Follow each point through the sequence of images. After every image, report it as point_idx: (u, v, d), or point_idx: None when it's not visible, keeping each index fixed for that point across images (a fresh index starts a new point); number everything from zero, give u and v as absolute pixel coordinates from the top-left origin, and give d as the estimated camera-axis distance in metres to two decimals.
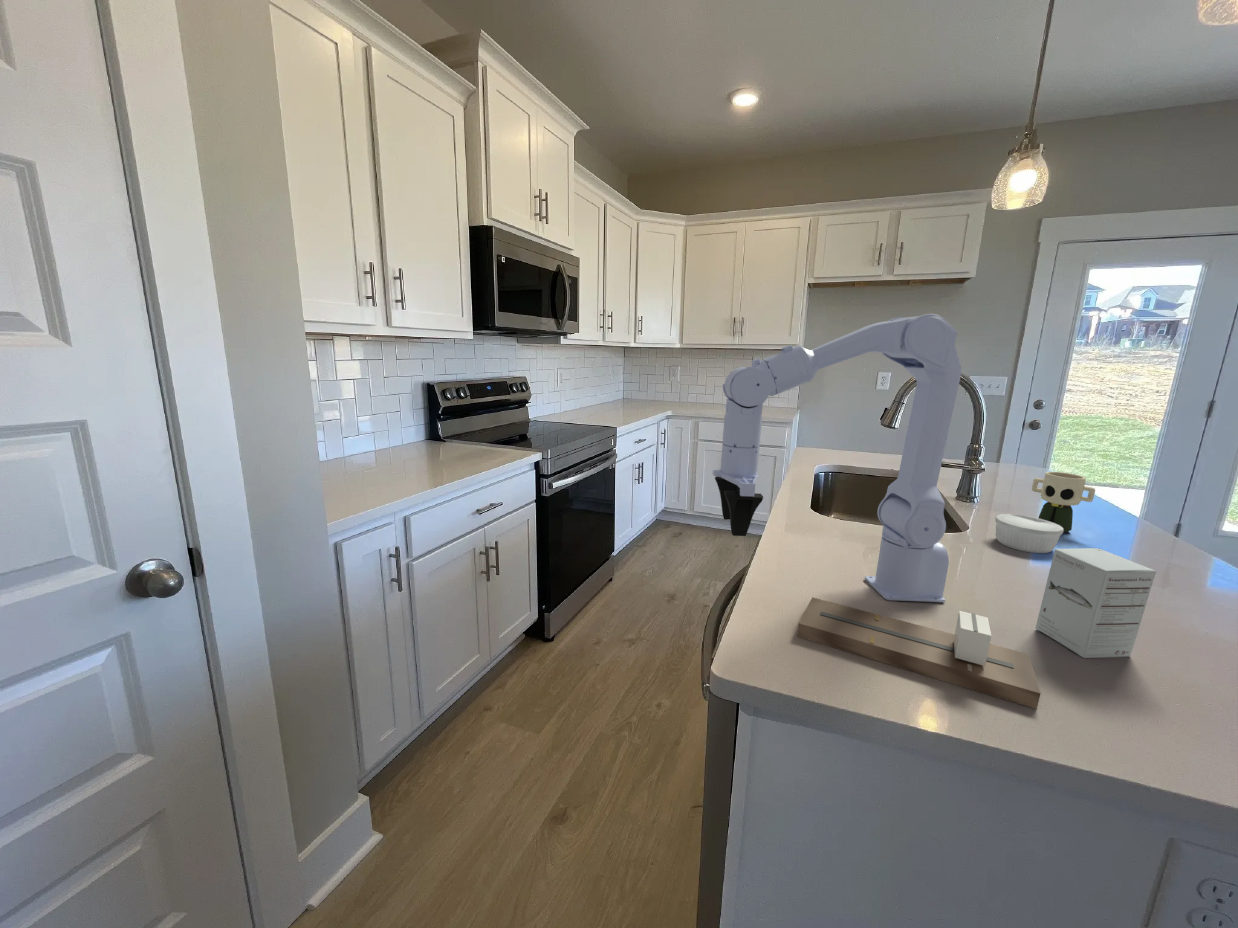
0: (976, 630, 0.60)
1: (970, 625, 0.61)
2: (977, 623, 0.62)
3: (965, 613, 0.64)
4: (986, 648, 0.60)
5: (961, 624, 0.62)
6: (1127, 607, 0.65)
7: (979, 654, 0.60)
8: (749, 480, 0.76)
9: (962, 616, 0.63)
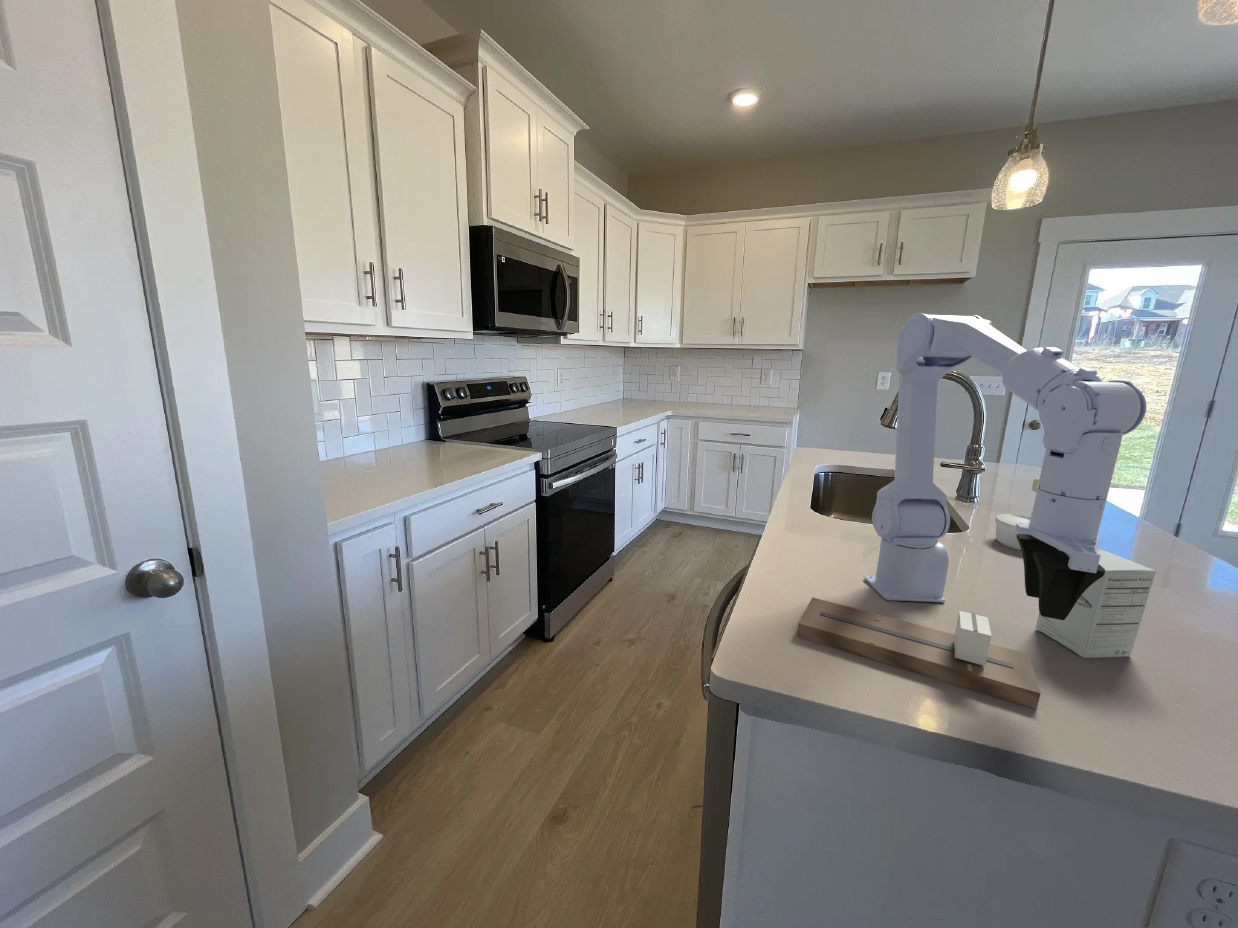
0: (976, 630, 0.60)
1: (970, 625, 0.61)
2: (977, 623, 0.62)
3: (965, 613, 0.64)
4: (986, 648, 0.60)
5: (961, 624, 0.62)
6: (1127, 607, 0.65)
7: (979, 654, 0.60)
8: (1086, 547, 0.52)
9: (962, 616, 0.63)
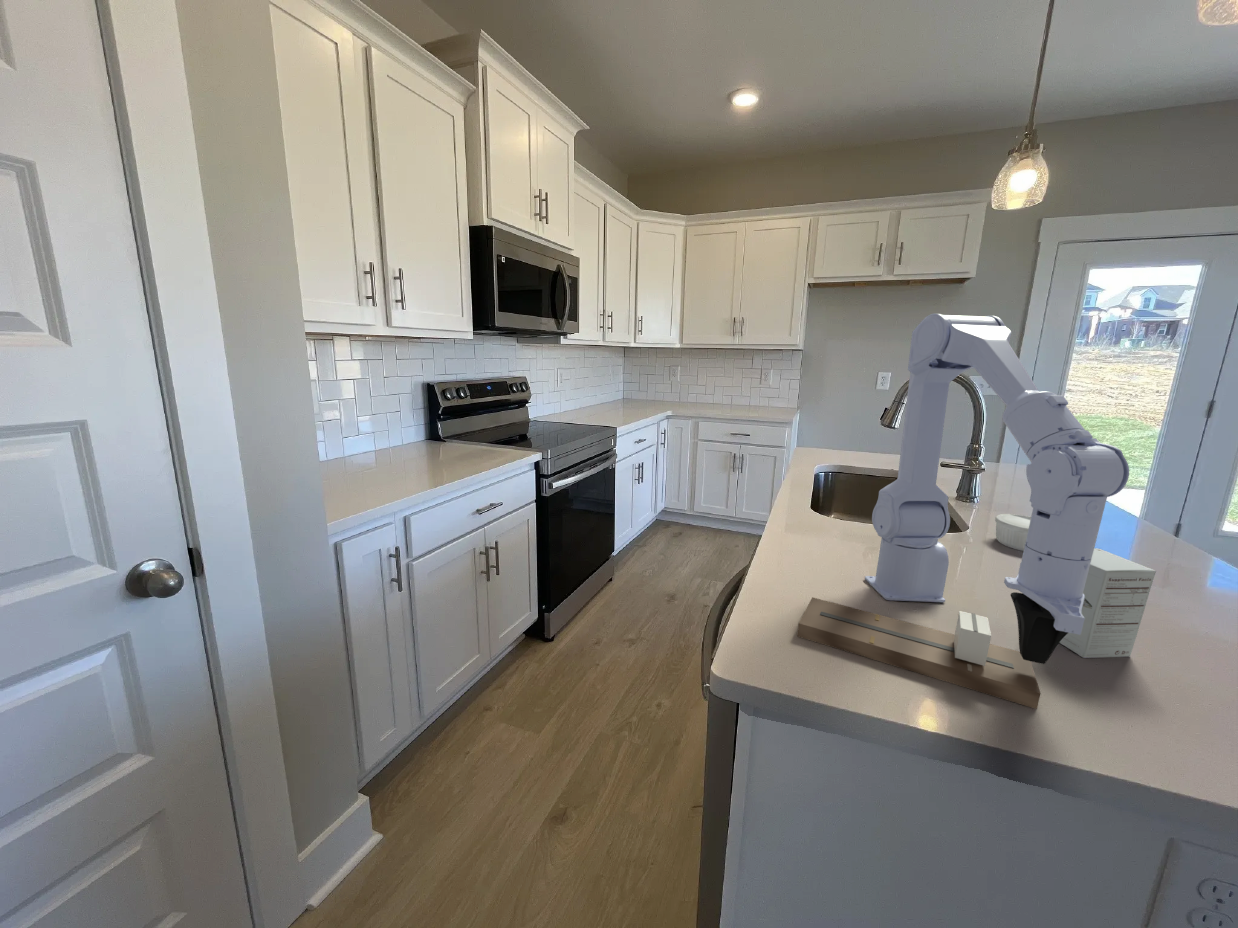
0: (976, 630, 0.60)
1: (970, 625, 0.61)
2: (977, 623, 0.62)
3: (965, 613, 0.64)
4: (986, 648, 0.60)
5: (961, 624, 0.62)
6: (1127, 607, 0.65)
7: (979, 654, 0.60)
8: (1071, 607, 0.53)
9: (962, 616, 0.63)
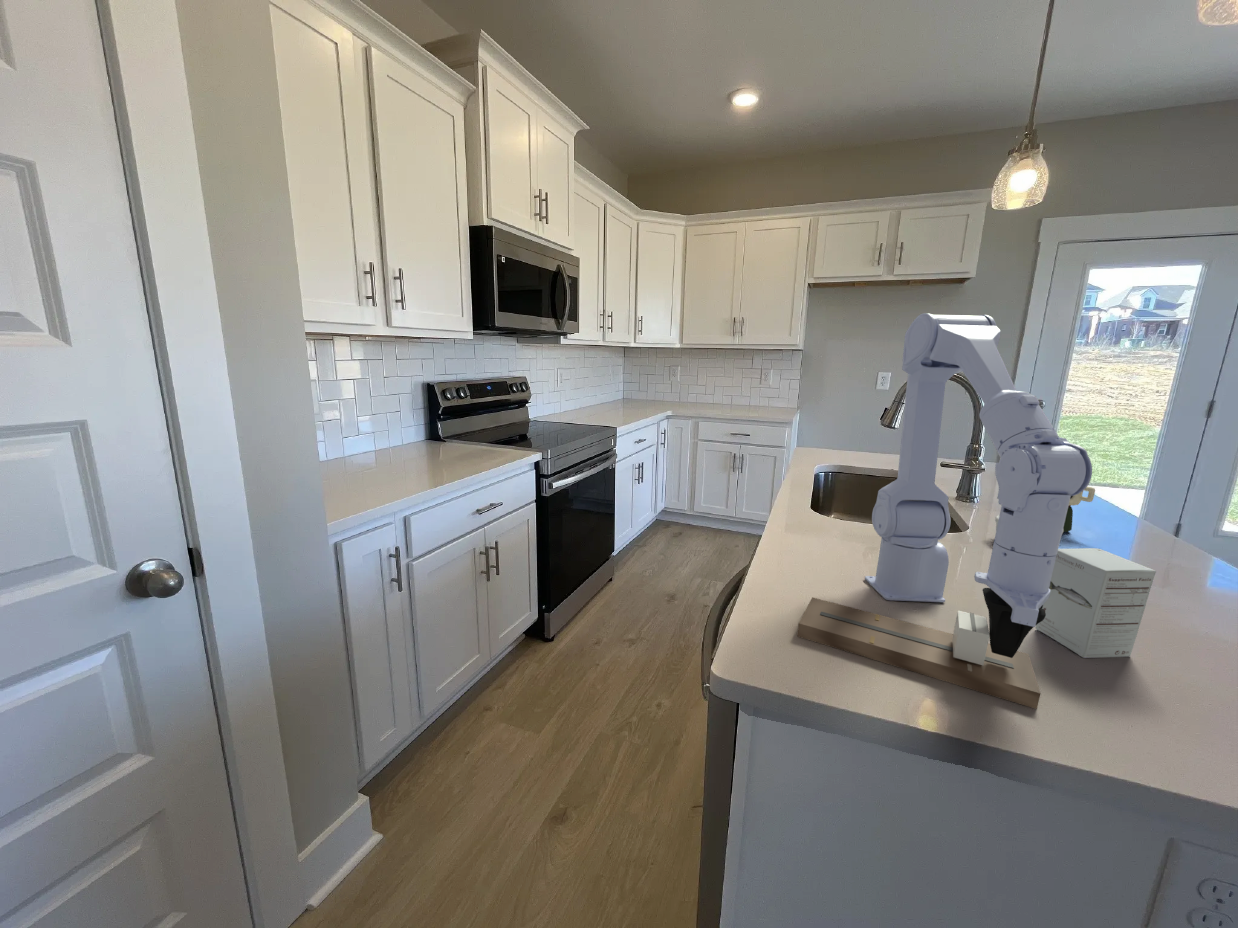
0: (974, 630, 0.60)
1: (969, 624, 0.62)
2: (975, 623, 0.62)
3: (963, 613, 0.64)
4: (984, 648, 0.60)
5: (959, 624, 0.62)
6: (1127, 607, 0.65)
7: (977, 654, 0.60)
8: (1030, 601, 0.55)
9: (960, 616, 0.64)
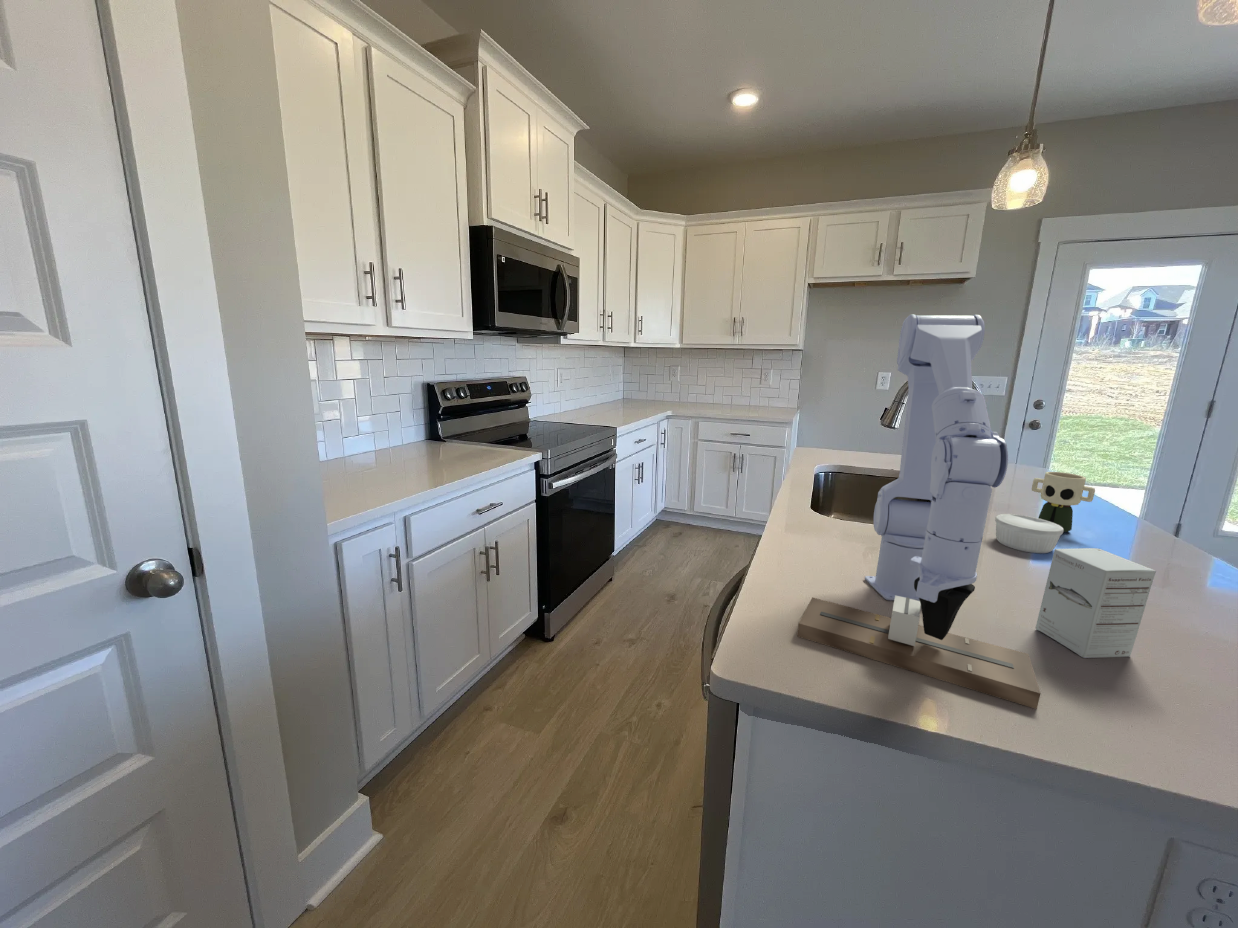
0: (906, 612, 0.64)
1: (902, 608, 0.65)
2: (909, 606, 0.66)
3: (900, 597, 0.68)
4: (915, 629, 0.63)
5: (894, 607, 0.65)
6: (1127, 607, 0.65)
7: (909, 635, 0.64)
8: (941, 581, 0.59)
9: (896, 600, 0.67)
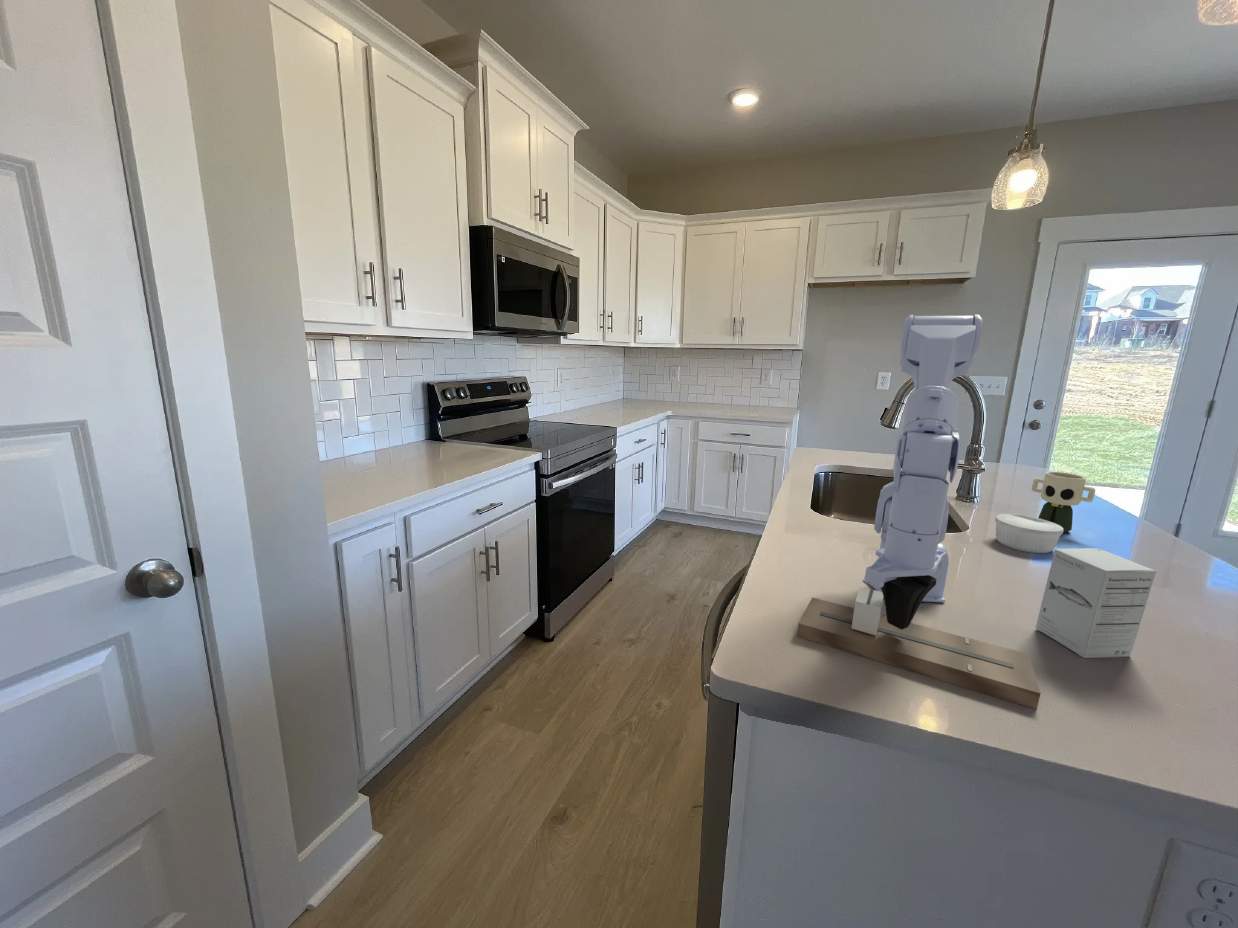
0: (868, 603, 0.66)
1: (865, 598, 0.67)
2: (872, 597, 0.68)
3: (864, 589, 0.70)
4: (877, 619, 0.66)
5: (857, 598, 0.67)
6: (1127, 607, 0.65)
7: (871, 625, 0.66)
8: (891, 569, 0.62)
9: (860, 591, 0.69)
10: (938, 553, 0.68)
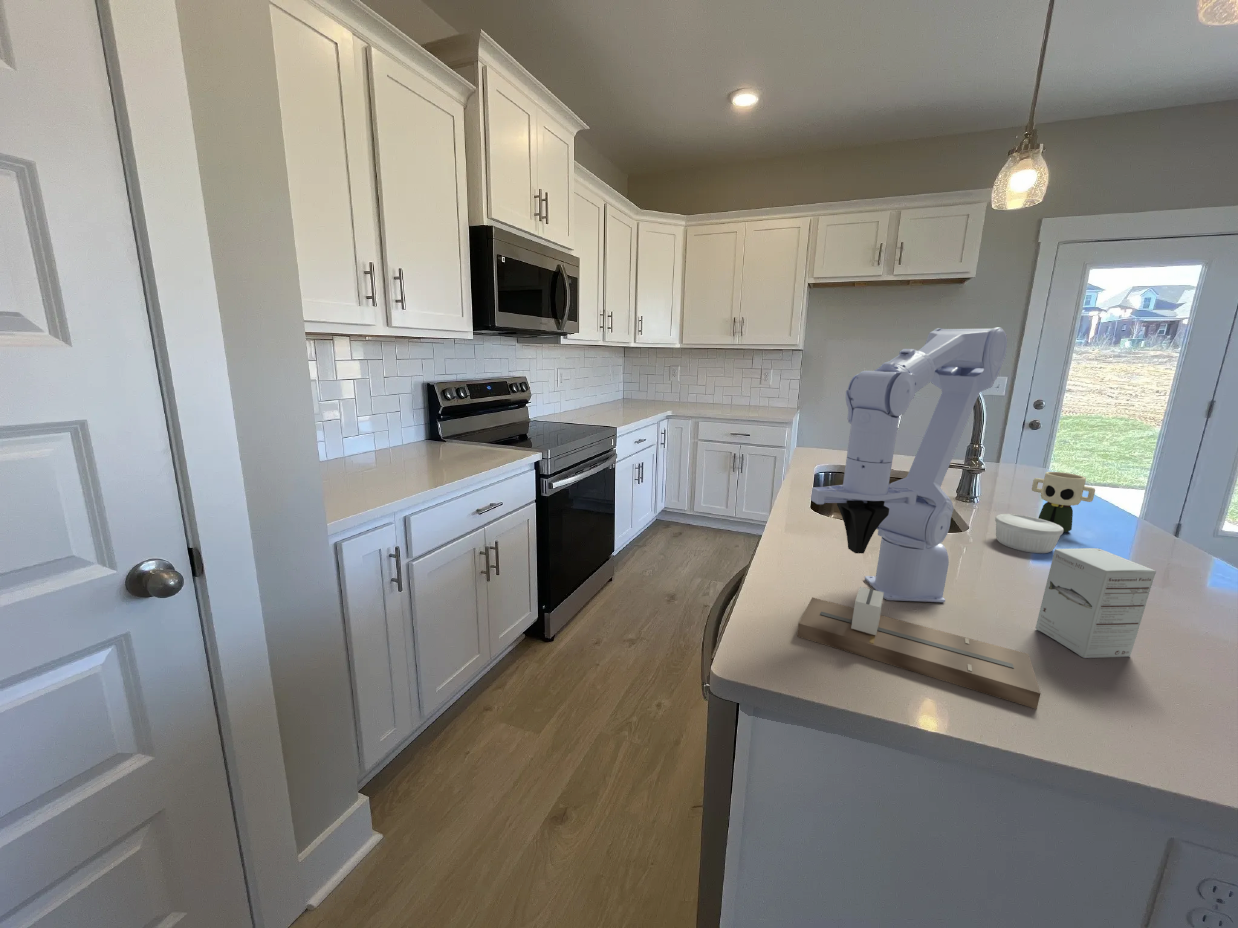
0: (868, 603, 0.66)
1: (865, 598, 0.67)
2: (871, 597, 0.68)
3: (864, 589, 0.70)
4: (876, 619, 0.66)
5: (857, 598, 0.68)
6: (1127, 607, 0.65)
7: (871, 625, 0.66)
8: (835, 491, 0.70)
9: (860, 591, 0.69)
10: None
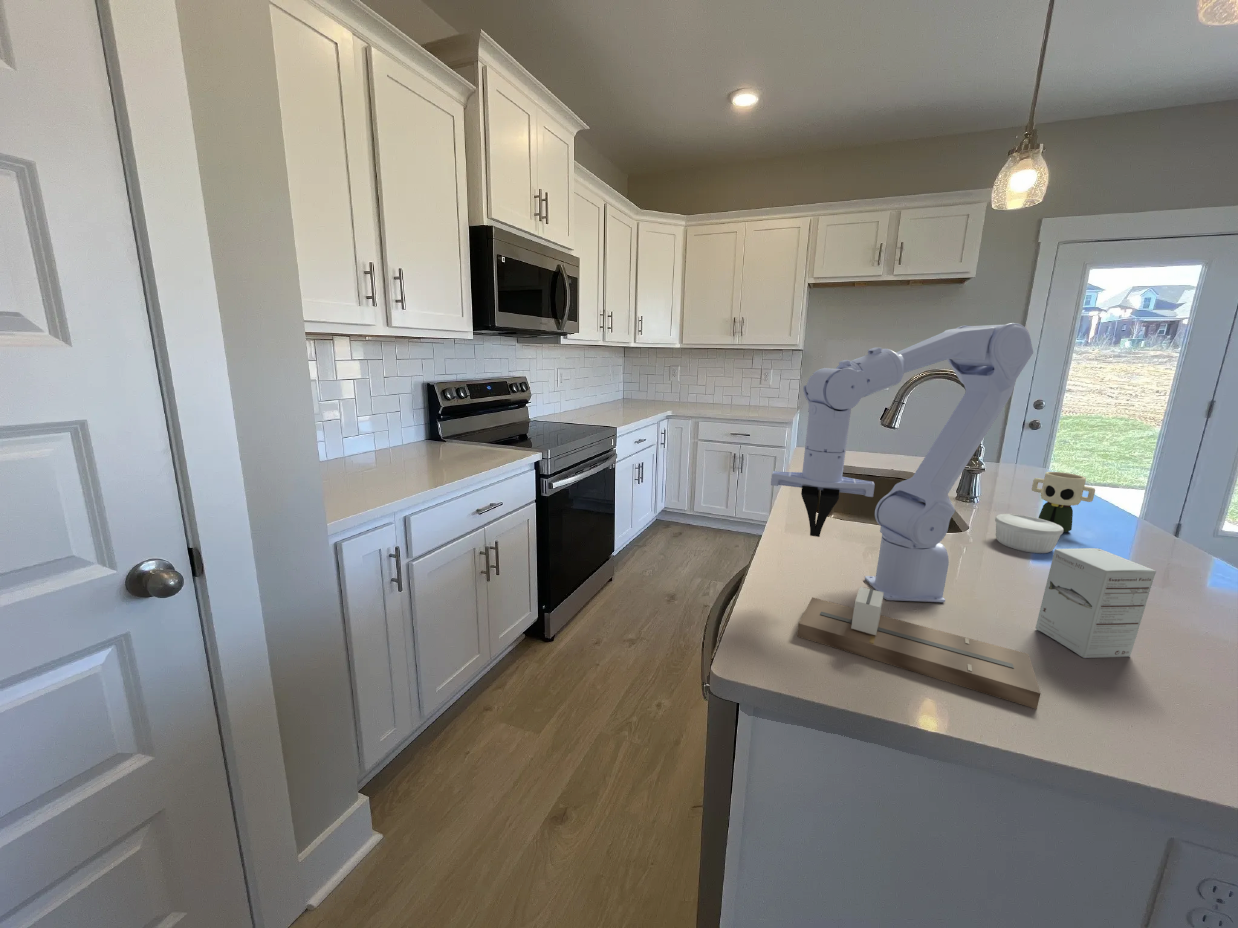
0: (868, 603, 0.66)
1: (865, 598, 0.67)
2: (871, 597, 0.68)
3: (864, 589, 0.70)
4: (876, 619, 0.66)
5: (857, 598, 0.68)
6: (1127, 607, 0.65)
7: (871, 625, 0.66)
8: (788, 475, 0.78)
9: (860, 591, 0.69)
10: None
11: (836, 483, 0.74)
